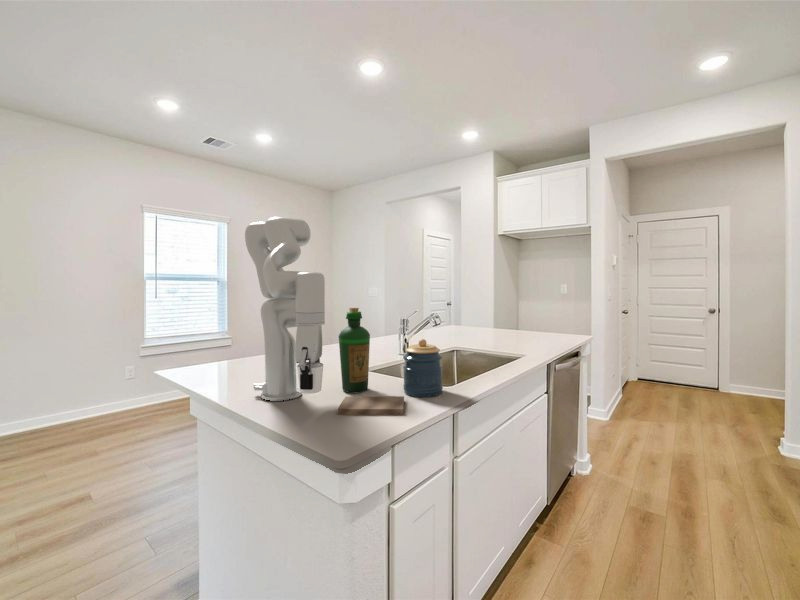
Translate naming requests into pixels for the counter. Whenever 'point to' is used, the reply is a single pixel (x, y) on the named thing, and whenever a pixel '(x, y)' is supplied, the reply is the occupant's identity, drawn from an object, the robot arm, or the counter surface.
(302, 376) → the robot arm
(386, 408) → the walnut board
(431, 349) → the canister
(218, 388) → the counter surface
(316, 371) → the shot glass
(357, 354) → the bottle
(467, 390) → the counter surface
